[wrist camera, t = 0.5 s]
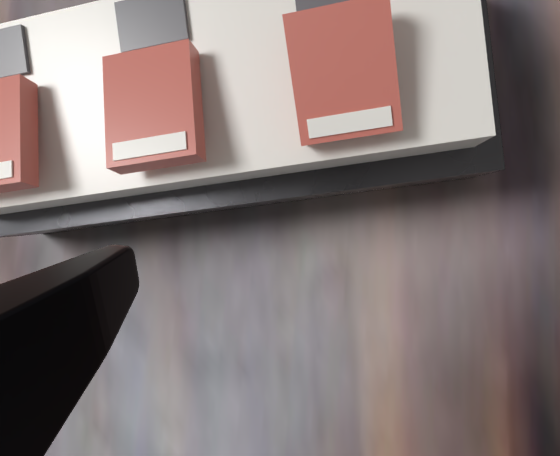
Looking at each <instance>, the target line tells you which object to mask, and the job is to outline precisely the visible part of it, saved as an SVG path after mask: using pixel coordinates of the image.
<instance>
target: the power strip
mask: <svg viewBox="0 0 560 456" xmlns="http://www.w3.org/2000/svg"><path fill="white" fill-rule="evenodd" d="M344 1H349V0H99V1H95V2H90V3H86V4H82V5H78V6H73V7H69V8H65V9H61V10H56V11H52V12H48V13H44V14H39V15H35V16H31V17H27V18H22V19H18V20H14V21H10V22H5V23H1V24H0V78H3V77H8V76H12V75H17V74H21V75H22V76H24V77H26V78H27V79H29V80H31V81H32V82H34V83H36V84H37V85H38V147H39V187H37V188H31V189H24V190H18V191H11V192H4V193H0V215H1V214H8V213H15V212H22V211H29V210H36V209H43V208H50V207H57V206H64V205H71V204H78V203H85V202H92V201H99V200H106V199H113V198H120V197H127V196H134V195H141V194H148V193H155V192H162V191H169V190H176V189H183V188H190V187H197V186H204V185H211V184H218V183H225V182H232V181H239V180H246V179H253V178H260V177H267V176H274V175H281V174H288V173H295V172H302V171H309V170H316V169H323V168H331V167H338V166H345V165H352V164H359V163H366V162H373V161H380V160H387V159H394V158H401V157H408V156H415V155H422V154H429V153H436V152H443V151H450V150H457V149H464V148H471V147H475V146H477V145H479V144H481V143H483V142H484V141H486V140H488V139H490V138H492V137H494V136H496V132H495V123H494V114H493V105H492V96H491V87H490V78H489V69H488V60H487V52H486V43H485V34H484V25H483V16H482V7H481V0H390V4H391V14H392V24H393V34H394V44H395V54H396V64H397V74H398V84H399V94H400V104H401V114H402V124H403V131H397V132H391V133H384V134H378V135H371V136H365V137H358V138H352V139H345V140H338V141H332V142H325V143H319V144H312V145H306V146H301V141H300V135H299V128H298V121H297V114H296V107H295V100H294V93H293V86H292V79H291V72H290V66H289V59H288V52H287V45H286V38H285V31H284V24H283V17H282V14H287V13H292V12H296V11H301V10H306V9H311V8H315V7H320V6H325V5H330V4H334V3H339V2H344ZM185 39H189V40H190V41H191V42H192V44H193V45H194V46H195V48H196V49H197V50H198V52H199V61H200V76H201V90H202V105H203V119H204V134H205V148H206V162H200V163H194V164H187V165H181V166H174V167H168V168H161V169H155V170H148V171H142V172H135V173H129V174H122V175H120V174H118V173H116V172H114V171H111V170H109V169H107V168H106V148H105V121H104V93H103V65H102V57H103V56H108V55H113V54H118V53H122V52H127V51H132V50H137V49H142V48H146V47H151V46H156V45H161V44H166V43H170V42H175V41H180V40H185Z"/></svg>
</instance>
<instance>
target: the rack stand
mask: <svg viewBox="0 0 560 456" xmlns="http://www.w3.org/2000/svg"><path fill="white" fill-rule="evenodd" d="M481 7H482V16H483V25H484V34H485V43H486V52H487V60H488V69H489V78H490V87H491V96H492V105H493V114H494V123H495V132H496V136H494V137H492V138H490V139H488V140H486V141H484V142H483V143H481V144H479V145H477V146H475V147H471V148H464V149H457V150H450V151H443V152H436V153H429V154H422V155H415V156H408V157H401V158H394V159H387V160H380V161H373V162H366V163H359V164H352V165H345V166H338V167H331V168H323V169H316V170H309V171H302V172H295V173H288V174H281V175H274V176H267V177H260V178H253V179H246V180H239V181H232V182H225V183H218V184H211V185H204V186H197V187H190V188H183V189H176V190H169V191H162V192H155V193H148V194H141V195H134V196H127V197H120V198H113V199H106V200H99V201H92V202H85V203H78V204H71V205H64V206H57V207H50V208H43V209H36V210H29V211H22V212H15V213H8V214H1V215H0V237H11V236H22V235H33V234H44V233H51V232H59V231H67V230H74V229H82V228H90V227H97V226H105V225H113V224H120V223H128V222H136V221H143V220H151V219H159V218H166V217H174V216H181V215H189V214H197V213H204V212H212V211H220V210H227V209H235V208H243V207H250V206H258V205H266V204H273V203H281V202H289V201H296V200H304V199H312V198H319V197H327V196H335V195H342V194H350V193H358V192H365V191H373V190H380V189H388V188H396V187H403V186H411V185H419V184H426V183H434V182H442V181H449V180H457V179H465V178H472V177H477V176H481V175H485V174H489V173H493V172H497V171H501V170H505V164H504V155H503V146H502V137H501V128H500V119H499V110H498V101H497V92H496V84H495V75H494V66H493V57H492V48H491V39H490V30H489V21H488V12H487V3H486V0H481Z"/></svg>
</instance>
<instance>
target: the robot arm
mask: <svg viewBox="0 0 560 456" xmlns="http://www.w3.org/2000/svg"><path fill="white" fill-rule="evenodd" d="M138 289H139V277H138V271H137V265H136V260H135V254H134V251H133V249H132V248H131V247H129V246H122V245H108V246H105V247H103V248H100V249H97V250H94V251H91V252H89V253H86V254H83V255H80V256H78V257H75V258H72V259H69V260H66V261H64V262H61V263H58V264H55V265H52V266H50V267H47V268H44V269H41V270H38V271H36V272H33V273H30V274H27V275H24V276H22V277H19V278H16V279H13V280H10V281H8V282H5V283H2V284H0V456H44V455H45V453H46V452H47V450H48V448H49V447H50V445H51V444H52V442H53V441H54V439H55V437H56V436H57V434H58V433H59V431H60V429H61V428H62V426H63V425H64V423H65V421H66V420H67V418H68V417H69V415H70V413H71V412H72V410H73V409H74V407H75V405H76V404H77V402H78V401H79V399H80V397H81V396H82V394H83V393H84V391H85V389H86V388H87V386H88V385H89V383H90V381H91V380H92V378H93V377H94V375H95V373H96V372H97V370H98V369H99V367H100V365H101V364H102V362H103V360H104V359H105V357H106V355H107V353H108V352H109V350H110V348H111V346H112V344H113V342H114V340H115V338H116V336H117V334H118V332H119V330H120V327H121V325H122V323H123V321H124V319H125V317H126V315H127V313H128V311H129V309H130V307H131V305H132V303H133V301H134V299H135V296H136V294H137V292H138Z"/></svg>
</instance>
